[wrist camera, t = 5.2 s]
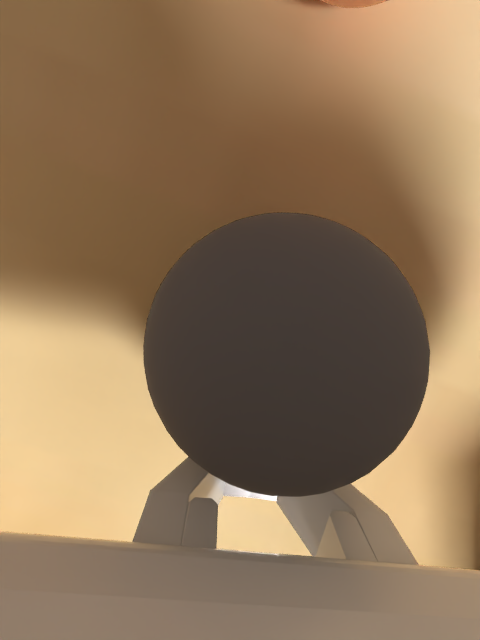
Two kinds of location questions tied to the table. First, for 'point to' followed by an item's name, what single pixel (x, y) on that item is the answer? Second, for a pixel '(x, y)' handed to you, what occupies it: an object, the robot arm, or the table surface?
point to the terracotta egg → (353, 3)
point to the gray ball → (286, 354)
